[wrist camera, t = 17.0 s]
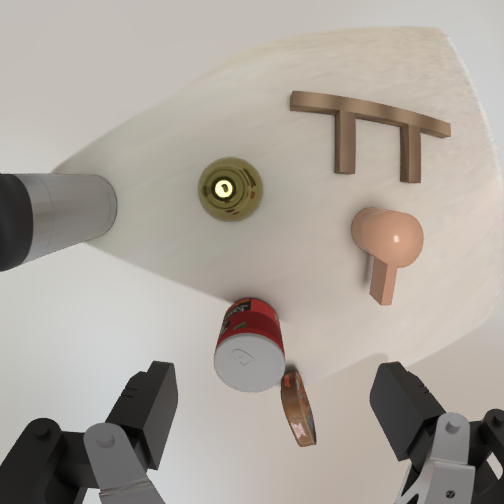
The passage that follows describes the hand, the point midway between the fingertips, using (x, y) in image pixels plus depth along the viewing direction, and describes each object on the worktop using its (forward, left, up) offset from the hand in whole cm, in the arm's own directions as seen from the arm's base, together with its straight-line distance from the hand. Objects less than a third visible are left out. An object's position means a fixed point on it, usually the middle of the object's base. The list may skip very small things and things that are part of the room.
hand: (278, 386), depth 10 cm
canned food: (-1, -11, -28) cm, 30 cm away
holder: (+15, +14, -27) cm, 34 cm away
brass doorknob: (-4, +7, -28) cm, 29 cm away
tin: (+7, -25, -28) cm, 38 cm away
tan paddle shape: (+15, +1, -27) cm, 31 cm away
